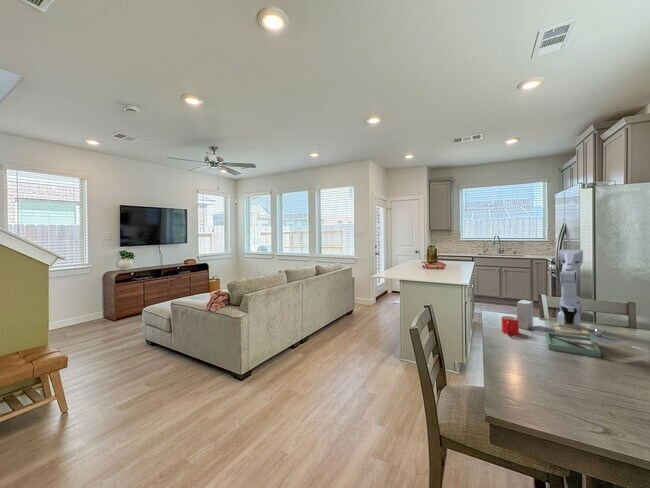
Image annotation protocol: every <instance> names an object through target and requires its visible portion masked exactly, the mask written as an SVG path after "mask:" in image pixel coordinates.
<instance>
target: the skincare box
mask: <svg viewBox="0 0 650 488" xmlns="http://www.w3.org/2000/svg"><path fill="white" fill-rule="evenodd" d="M533 310H534V302H533V301H532V300H527V299H521V300H519V301H517V303H516V318H518V319H519V329H523V330H529V329H530V328H531V327H533V326H534V325H533V323H534V319H533V318H534V311H533Z"/></svg>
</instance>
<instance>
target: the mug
mask: <svg viewBox="0 0 650 488" xmlns="http://www.w3.org/2000/svg"><path fill="white" fill-rule="evenodd" d="M501 332H502V333H503V332H504V333H503V334H505V333H506V335H509V334H510V335H511V336H518V335H519V333H520V328H519V319H518V318H517V317H516V316H510V315H508V316H507V315H504V316H502V317H501Z"/></svg>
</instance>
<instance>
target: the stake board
mask: <svg viewBox="0 0 650 488" xmlns="http://www.w3.org/2000/svg"><path fill="white" fill-rule="evenodd" d="M587 330H588V329H587ZM579 332H582V331H581V330H580V331H579ZM588 332H589V333H590V337H588V338H593V340H594V341H598V342H601V343H604V344H608V343H616V342H623V341H624V342H625V341H630V340H631V339H630V338H626V337H623V336H620V335H616V334H614V333H613V334H612V333H609V332H607V331H602V337H596V336H595V329H589V330H588ZM584 337H586V336H584Z"/></svg>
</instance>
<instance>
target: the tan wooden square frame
mask: <svg viewBox="0 0 650 488" xmlns="http://www.w3.org/2000/svg"><path fill="white" fill-rule="evenodd" d="M553 328H554V330H555V333H557V334H565V335H573V336H581V337H585V336H586V337H590V333H589V332H588V328H587V326H586V325H581V324H580V325H575V318H574V320H573V323H572V324H569V323H566V319H565V316H564V323H557V321H556V322H553ZM562 328H568V329H574V328H577V330H578V331H577V330H576V331H575V330H568V329H562ZM579 330H580V331H582V332H580V331H579Z"/></svg>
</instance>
